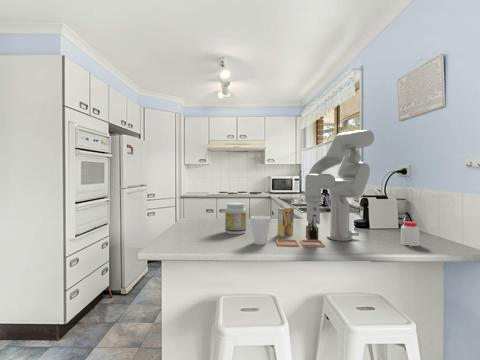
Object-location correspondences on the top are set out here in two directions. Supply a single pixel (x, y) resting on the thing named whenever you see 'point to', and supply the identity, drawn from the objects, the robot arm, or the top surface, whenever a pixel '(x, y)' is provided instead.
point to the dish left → (312, 243)
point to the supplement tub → (235, 218)
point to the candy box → (285, 221)
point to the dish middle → (287, 242)
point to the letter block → (309, 233)
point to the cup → (260, 229)
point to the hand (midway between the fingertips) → (311, 236)
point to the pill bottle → (410, 234)
